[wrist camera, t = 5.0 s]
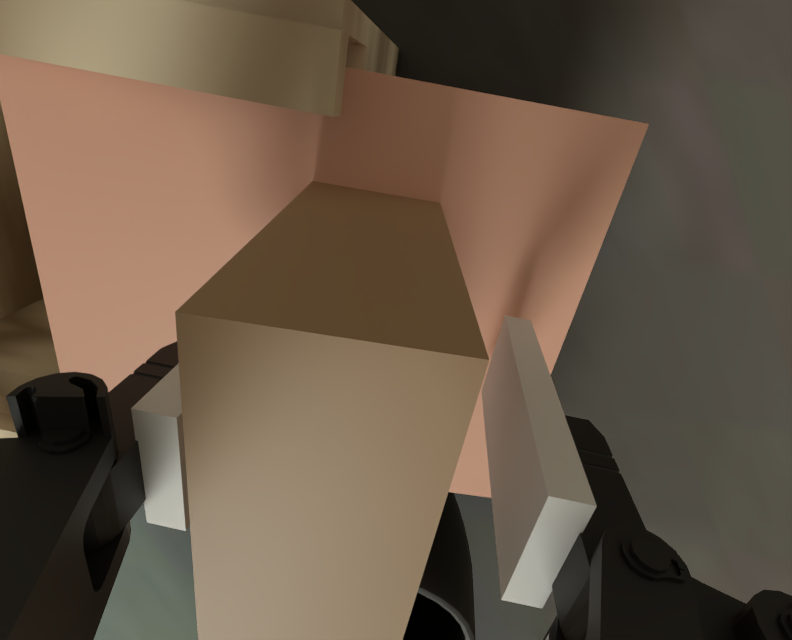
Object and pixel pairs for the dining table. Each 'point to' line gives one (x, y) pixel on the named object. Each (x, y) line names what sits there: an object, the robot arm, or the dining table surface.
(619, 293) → the dining table surface
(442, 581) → the mug
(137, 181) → the cover plate
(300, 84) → the birch box
